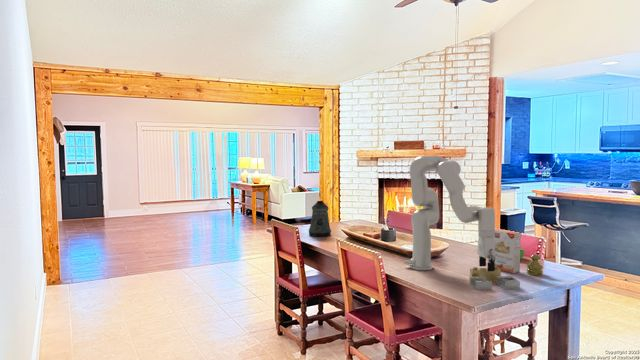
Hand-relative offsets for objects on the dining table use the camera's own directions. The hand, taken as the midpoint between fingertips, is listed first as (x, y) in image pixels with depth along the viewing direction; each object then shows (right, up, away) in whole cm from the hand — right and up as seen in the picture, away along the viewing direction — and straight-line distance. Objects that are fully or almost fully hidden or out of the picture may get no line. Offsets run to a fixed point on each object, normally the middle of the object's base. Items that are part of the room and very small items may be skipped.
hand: (486, 268), depth 221 cm
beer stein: (-81, +2, +118) cm, 143 cm away
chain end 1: (-6, -7, -8) cm, 12 cm away
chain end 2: (+7, -7, -8) cm, 12 cm away
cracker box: (+17, -5, +20) cm, 26 cm away
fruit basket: (+31, -3, +44) cm, 54 cm away
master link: (0, -6, +1) cm, 6 cm away
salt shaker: (+29, -5, +13) cm, 32 cm away
